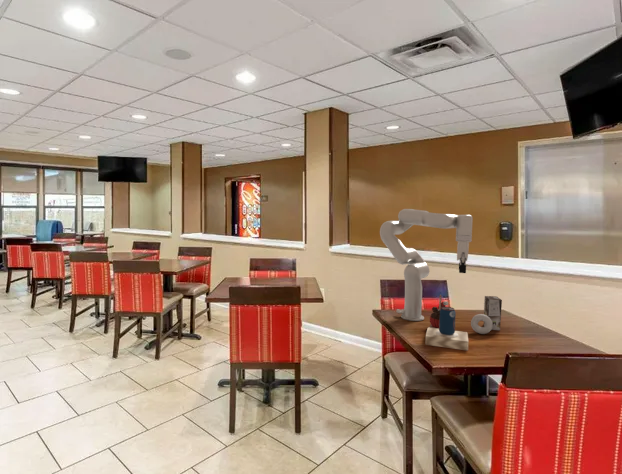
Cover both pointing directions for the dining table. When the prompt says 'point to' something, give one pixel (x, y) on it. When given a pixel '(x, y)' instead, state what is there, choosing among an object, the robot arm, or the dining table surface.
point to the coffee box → (493, 310)
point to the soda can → (447, 321)
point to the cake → (436, 314)
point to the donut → (477, 328)
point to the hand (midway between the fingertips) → (462, 271)
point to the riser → (447, 339)
